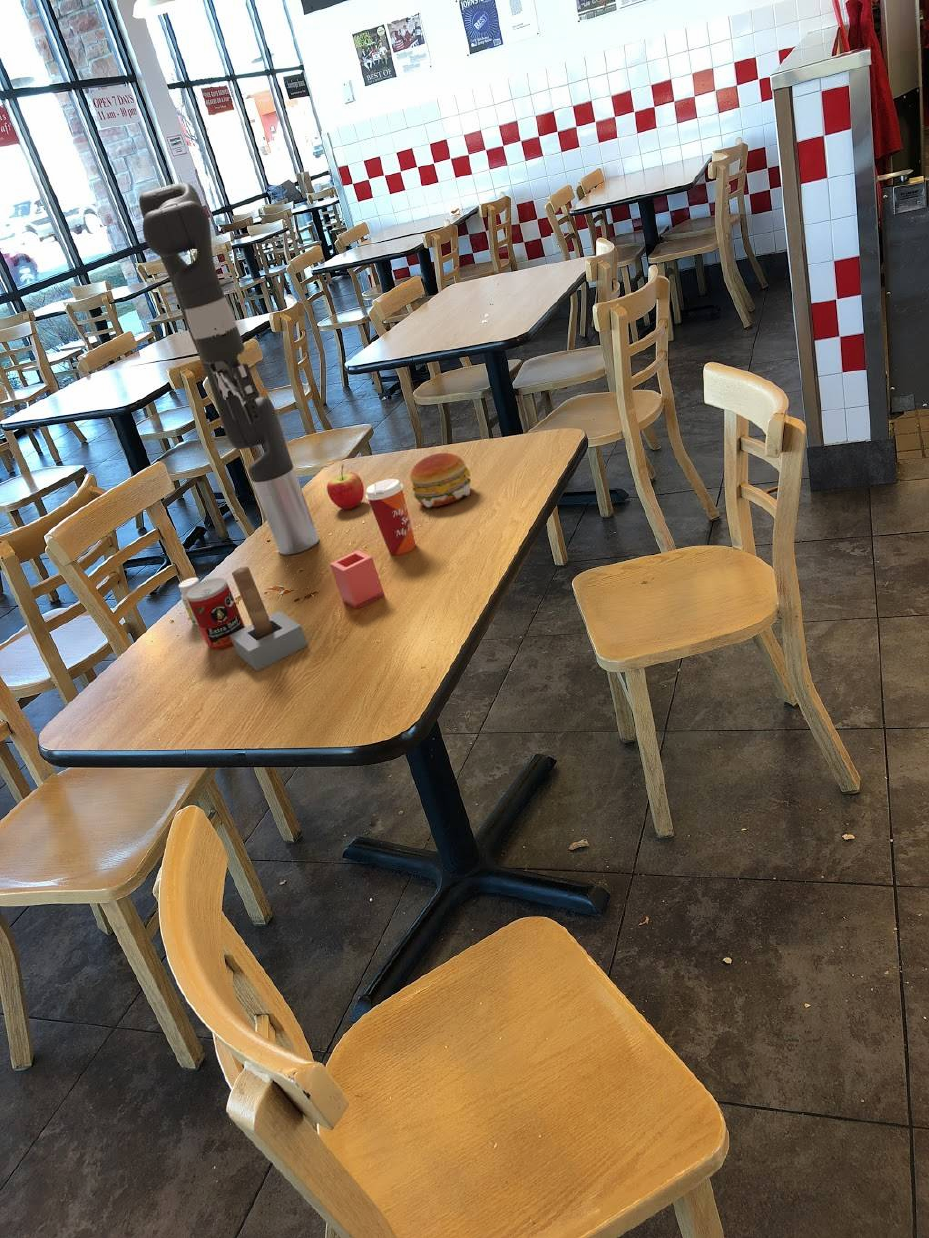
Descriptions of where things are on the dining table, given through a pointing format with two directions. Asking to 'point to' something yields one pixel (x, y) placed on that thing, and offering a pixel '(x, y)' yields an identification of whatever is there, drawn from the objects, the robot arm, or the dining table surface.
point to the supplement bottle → (184, 588)
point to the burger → (440, 479)
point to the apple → (346, 490)
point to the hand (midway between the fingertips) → (248, 420)
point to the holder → (269, 642)
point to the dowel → (252, 602)
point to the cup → (357, 579)
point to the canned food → (215, 612)
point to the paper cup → (392, 515)
